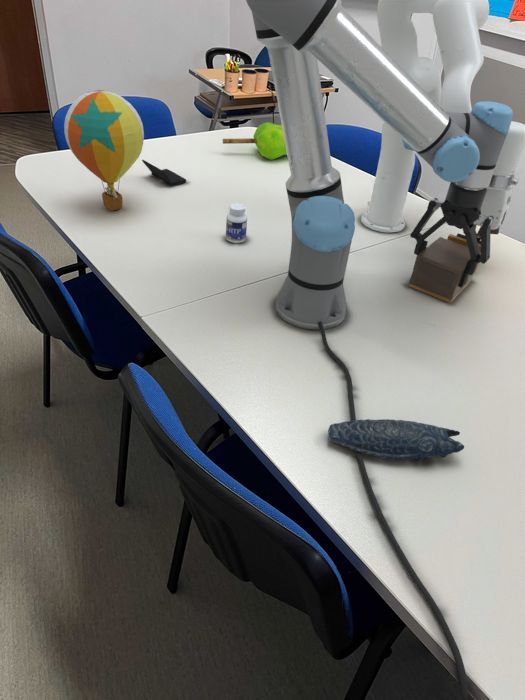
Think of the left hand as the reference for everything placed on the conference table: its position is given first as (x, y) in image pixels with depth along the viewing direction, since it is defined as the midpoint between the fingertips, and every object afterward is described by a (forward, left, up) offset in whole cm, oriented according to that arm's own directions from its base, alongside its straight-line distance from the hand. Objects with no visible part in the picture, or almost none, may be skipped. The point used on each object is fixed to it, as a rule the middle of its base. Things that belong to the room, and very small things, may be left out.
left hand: (439, 276), depth 122 cm
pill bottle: (+11, +51, -4) cm, 52 cm away
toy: (+19, +87, -4) cm, 89 cm away
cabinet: (+3, -1, -3) cm, 5 cm away
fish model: (-53, +13, -4) cm, 54 cm away
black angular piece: (+44, +80, -4) cm, 92 cm away
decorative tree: (+79, +54, -4) cm, 96 cm away
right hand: (+16, -10, 0) cm, 19 cm away
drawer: (+11, -6, -3) cm, 13 cm away
